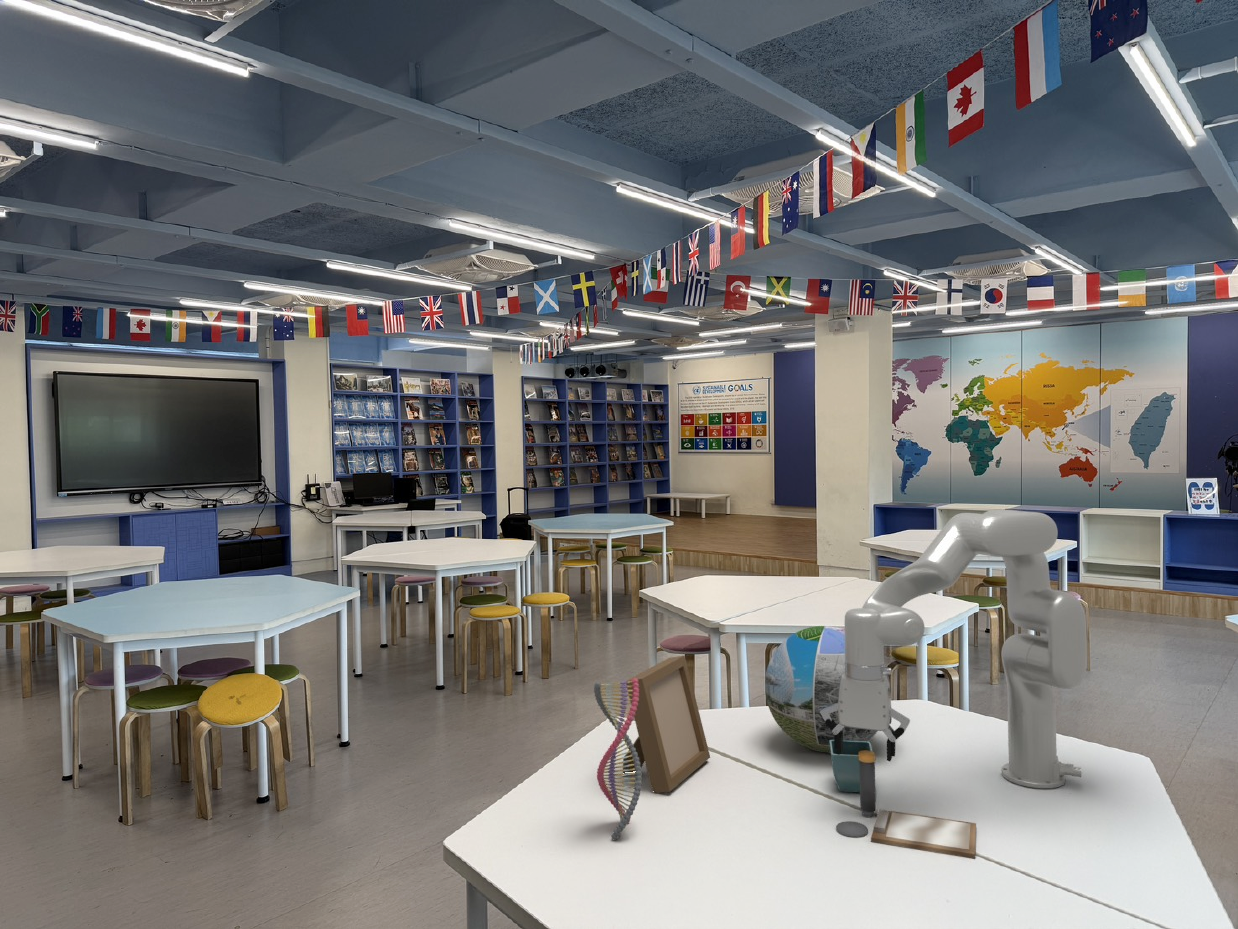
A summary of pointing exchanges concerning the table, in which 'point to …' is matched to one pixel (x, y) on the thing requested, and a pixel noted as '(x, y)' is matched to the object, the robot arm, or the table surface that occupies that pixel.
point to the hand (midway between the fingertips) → (864, 755)
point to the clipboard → (925, 833)
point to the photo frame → (667, 725)
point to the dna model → (612, 751)
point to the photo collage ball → (809, 686)
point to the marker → (867, 783)
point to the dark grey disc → (852, 829)
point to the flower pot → (848, 764)
